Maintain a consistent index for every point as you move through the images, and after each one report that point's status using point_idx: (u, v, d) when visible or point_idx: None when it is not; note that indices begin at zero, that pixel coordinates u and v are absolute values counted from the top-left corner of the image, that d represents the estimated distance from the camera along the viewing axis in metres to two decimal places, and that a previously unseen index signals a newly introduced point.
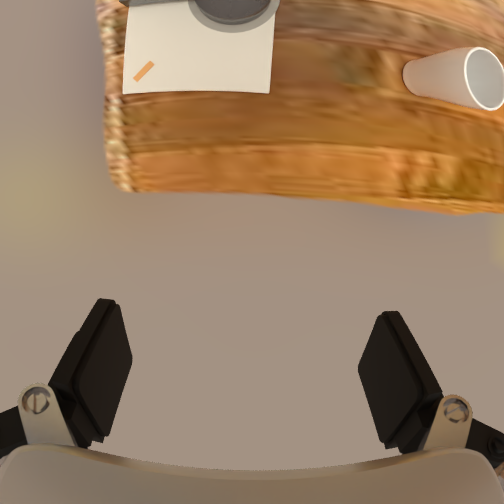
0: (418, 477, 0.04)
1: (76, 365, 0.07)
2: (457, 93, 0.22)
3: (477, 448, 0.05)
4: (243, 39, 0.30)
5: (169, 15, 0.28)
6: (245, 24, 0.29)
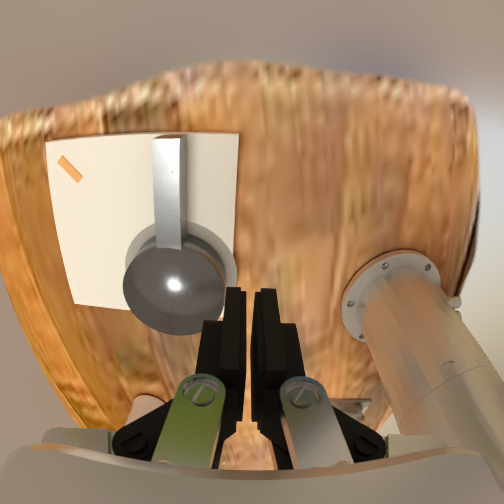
0: (418, 477, 0.04)
1: (239, 349, 0.08)
2: None
3: None
4: (120, 283, 0.29)
5: (144, 197, 0.25)
6: None
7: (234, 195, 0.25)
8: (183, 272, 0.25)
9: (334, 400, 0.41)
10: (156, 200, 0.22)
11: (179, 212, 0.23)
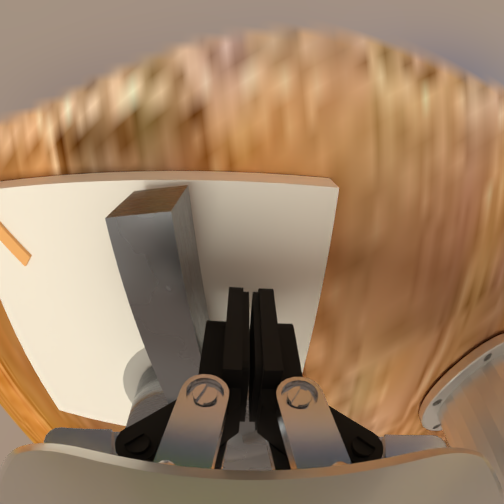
0: (418, 477, 0.04)
1: (242, 350, 0.08)
2: None
3: None
4: (119, 402, 0.18)
5: None
6: None
7: (317, 299, 0.14)
8: None
9: None
10: (147, 340, 0.10)
11: (200, 357, 0.11)
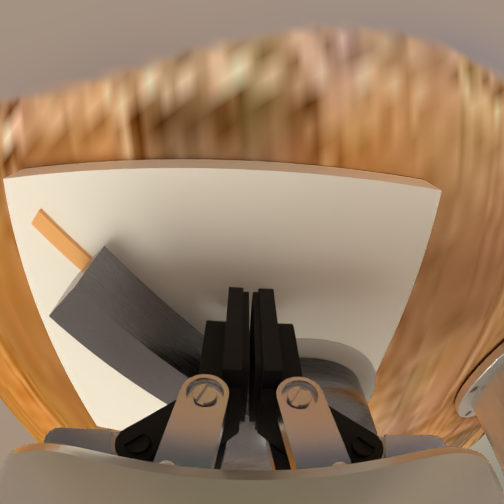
0: (418, 477, 0.04)
1: (242, 350, 0.08)
2: None
3: None
4: None
5: None
6: None
7: (408, 295, 0.13)
8: None
9: None
10: (150, 390, 0.10)
11: None
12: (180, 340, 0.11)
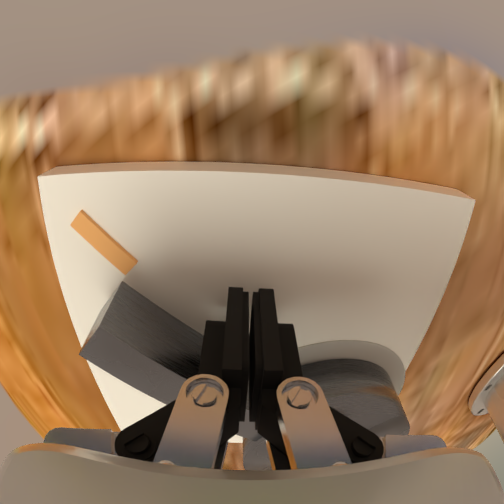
0: (418, 477, 0.04)
1: (242, 350, 0.08)
2: None
3: None
4: None
5: (289, 307, 0.13)
6: None
7: (441, 297, 0.13)
8: None
9: None
10: None
11: None
12: None
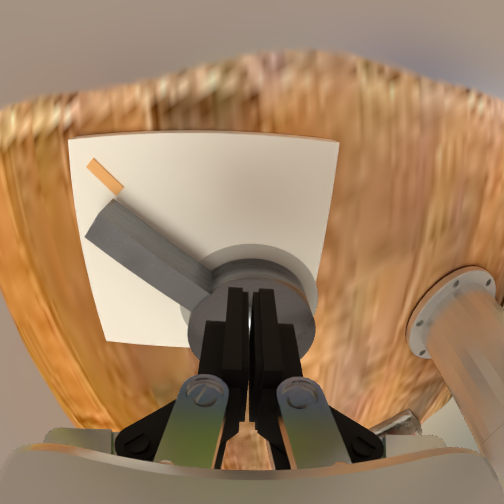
0: (418, 477, 0.04)
1: (242, 349, 0.08)
2: None
3: None
4: (170, 318, 0.25)
5: (213, 215, 0.20)
6: None
7: (327, 215, 0.21)
8: None
9: (413, 415, 0.40)
10: (144, 277, 0.19)
11: (171, 267, 0.18)
12: (159, 244, 0.19)
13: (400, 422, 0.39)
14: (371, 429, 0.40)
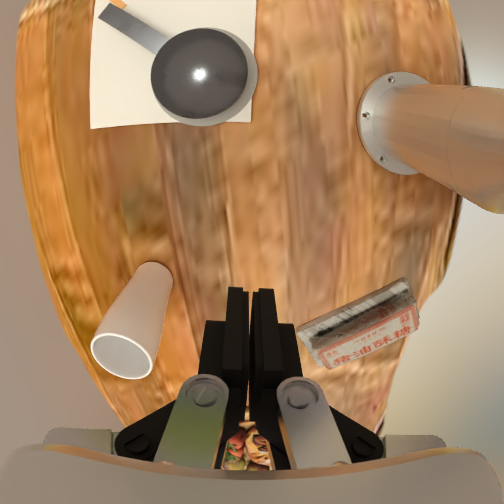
0: (418, 477, 0.04)
1: (241, 350, 0.08)
2: (100, 324, 0.28)
3: None
4: (143, 93, 0.28)
5: (179, 12, 0.24)
6: None
7: (255, 8, 0.24)
8: (185, 48, 0.23)
9: None
10: (128, 34, 0.22)
11: (147, 25, 0.22)
12: None
13: (396, 293, 0.41)
14: (364, 297, 0.42)
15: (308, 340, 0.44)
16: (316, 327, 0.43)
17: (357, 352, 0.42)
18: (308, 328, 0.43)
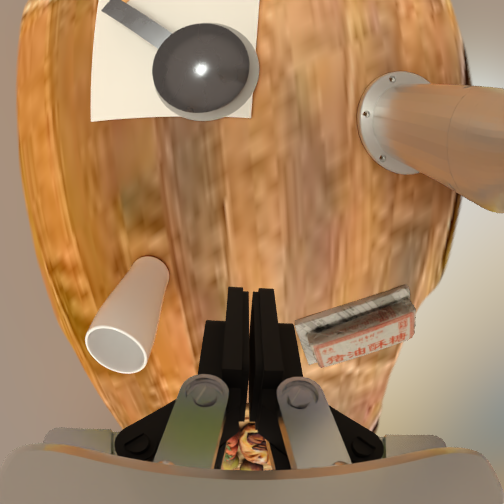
0: (418, 477, 0.04)
1: (241, 349, 0.08)
2: (95, 317, 0.27)
3: None
4: (144, 87, 0.28)
5: (183, 7, 0.24)
6: None
7: (258, 5, 0.24)
8: (188, 42, 0.23)
9: None
10: (131, 28, 0.22)
11: (150, 19, 0.22)
12: None
13: (397, 299, 0.42)
14: (366, 298, 0.42)
15: (304, 335, 0.44)
16: (315, 322, 0.43)
17: (351, 353, 0.42)
18: (307, 322, 0.43)
